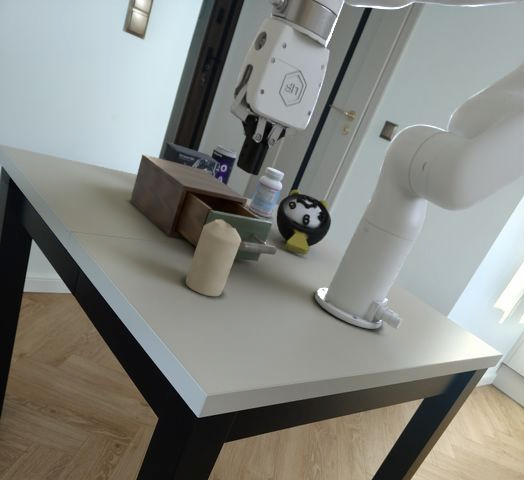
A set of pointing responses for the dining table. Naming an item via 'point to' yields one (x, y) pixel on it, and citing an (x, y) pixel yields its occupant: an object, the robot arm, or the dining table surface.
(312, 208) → the alarm clock
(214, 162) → the box
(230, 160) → the beverage can
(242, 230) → the drawer
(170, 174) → the cabinet
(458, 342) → the dining table surface
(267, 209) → the pill bottle
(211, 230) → the candle
